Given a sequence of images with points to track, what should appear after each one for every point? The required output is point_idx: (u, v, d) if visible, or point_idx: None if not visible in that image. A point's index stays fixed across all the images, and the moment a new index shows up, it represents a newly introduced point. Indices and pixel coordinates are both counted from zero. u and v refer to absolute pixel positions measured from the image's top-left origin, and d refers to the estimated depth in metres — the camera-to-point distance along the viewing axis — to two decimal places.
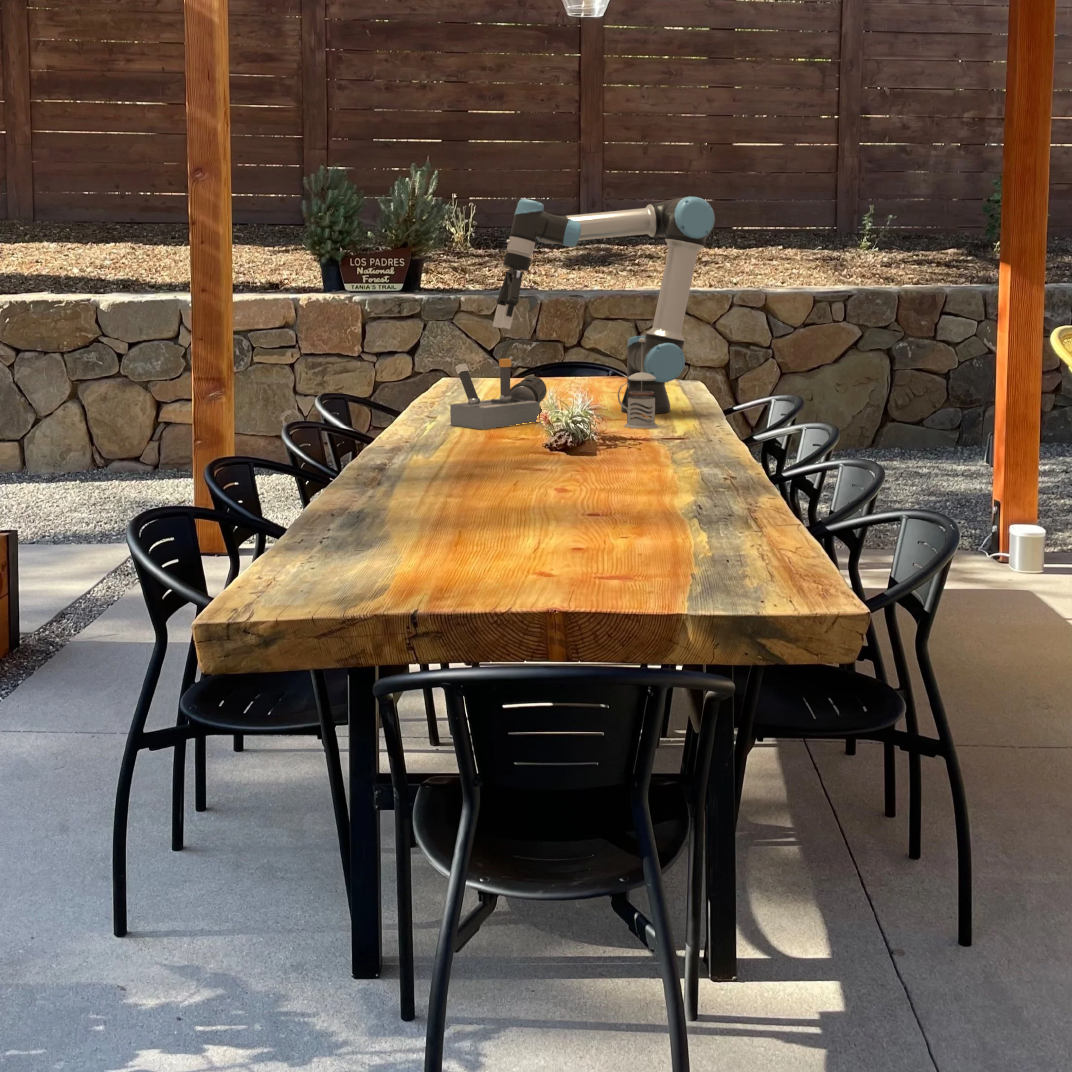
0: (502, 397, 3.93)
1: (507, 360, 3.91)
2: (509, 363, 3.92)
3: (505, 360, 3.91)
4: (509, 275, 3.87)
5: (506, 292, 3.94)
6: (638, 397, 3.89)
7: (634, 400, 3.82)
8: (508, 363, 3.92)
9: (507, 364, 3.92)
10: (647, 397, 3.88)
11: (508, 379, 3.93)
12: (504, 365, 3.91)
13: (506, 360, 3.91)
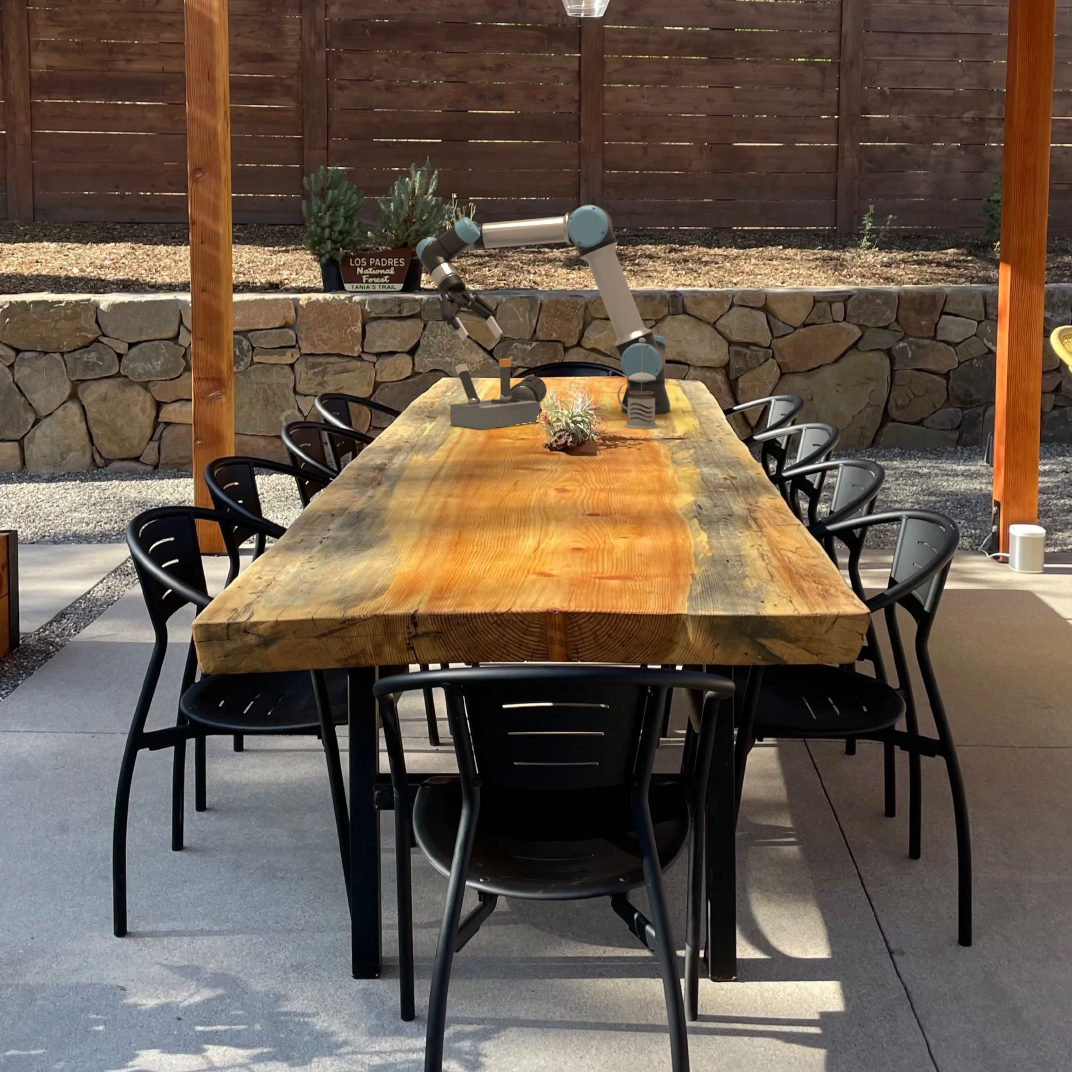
0: (502, 397, 3.93)
1: (507, 360, 3.91)
2: (509, 363, 3.92)
3: (505, 360, 3.91)
4: None
5: (476, 310, 4.04)
6: (638, 397, 3.89)
7: (634, 400, 3.82)
8: (508, 363, 3.92)
9: (507, 364, 3.92)
10: (647, 397, 3.88)
11: (508, 379, 3.93)
12: (504, 365, 3.91)
13: (506, 360, 3.91)
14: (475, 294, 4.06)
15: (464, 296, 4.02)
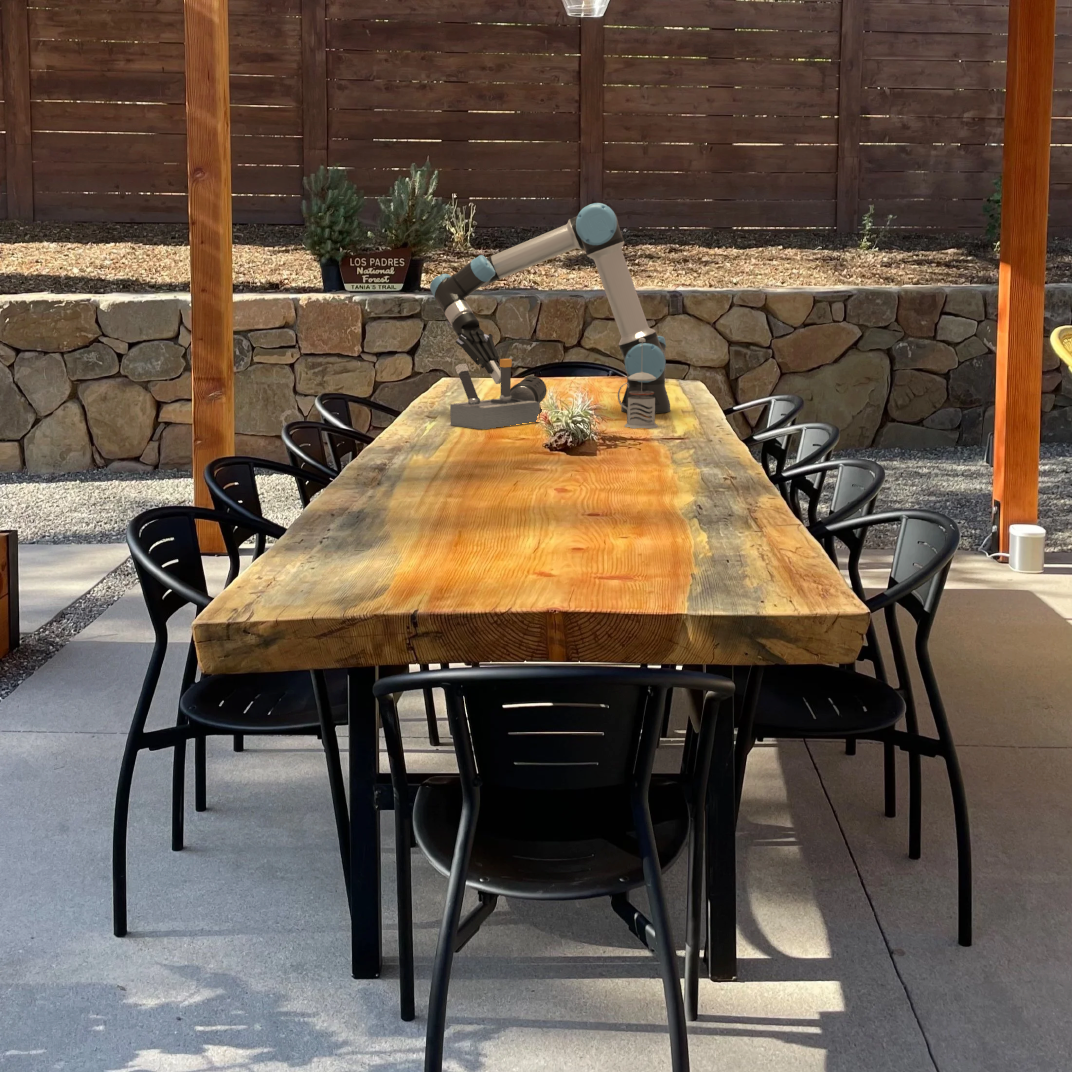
0: (502, 397, 3.93)
1: (508, 360, 3.91)
2: (510, 363, 3.92)
3: (506, 360, 3.91)
4: None
5: (482, 350, 3.99)
6: (638, 397, 3.89)
7: (634, 400, 3.82)
8: (509, 363, 3.92)
9: (508, 364, 3.91)
10: (647, 397, 3.88)
11: (509, 379, 3.93)
12: (505, 365, 3.91)
13: (507, 360, 3.91)
14: (490, 336, 4.02)
15: (477, 333, 4.00)
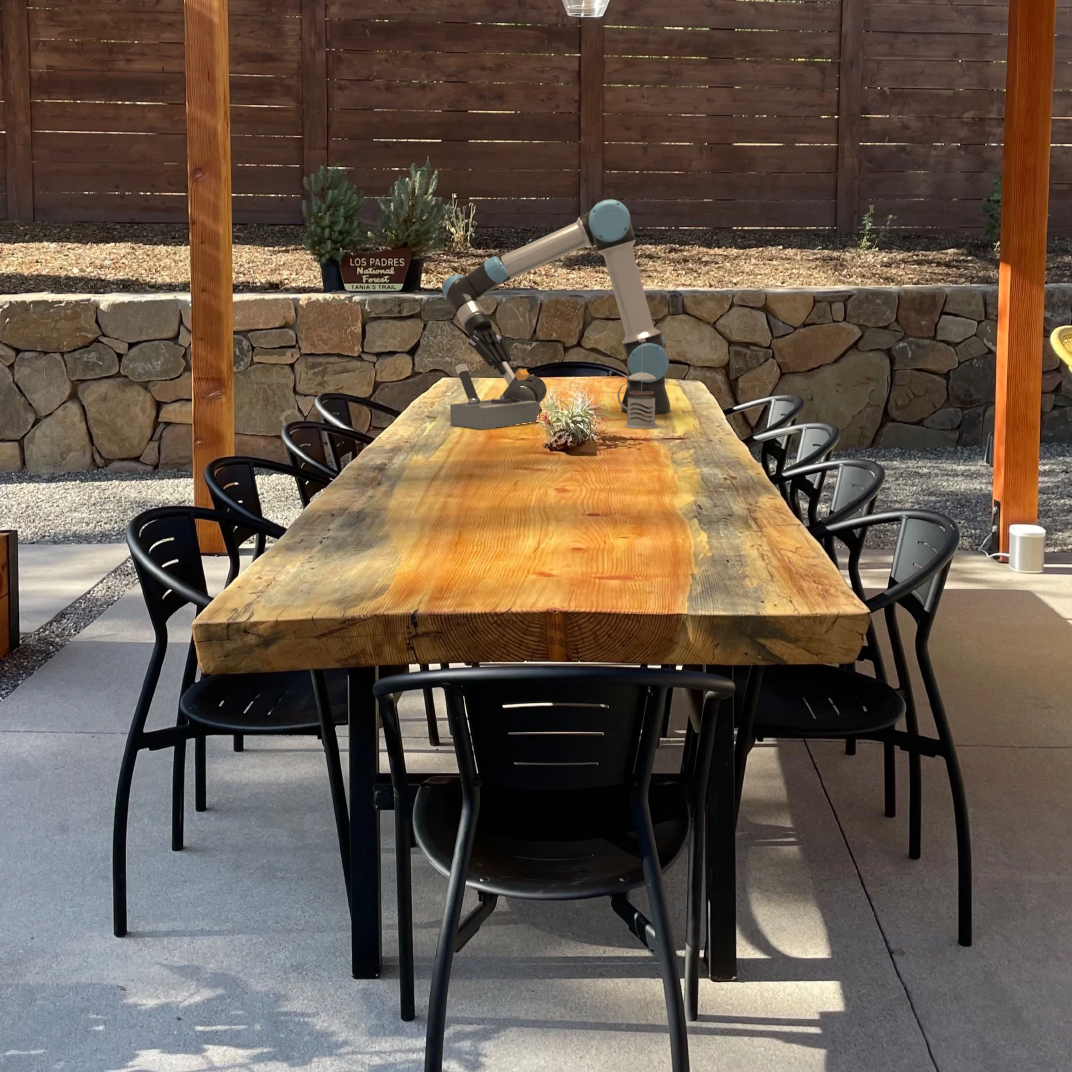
0: (502, 398, 3.93)
1: (525, 375, 3.87)
2: (525, 377, 3.88)
3: (523, 375, 3.86)
4: None
5: (495, 351, 3.95)
6: (638, 397, 3.89)
7: (634, 400, 3.82)
8: (524, 377, 3.88)
9: (523, 378, 3.88)
10: (647, 397, 3.88)
11: (517, 387, 3.91)
12: (519, 379, 3.87)
13: (524, 375, 3.87)
14: (502, 337, 3.99)
15: (489, 334, 3.96)
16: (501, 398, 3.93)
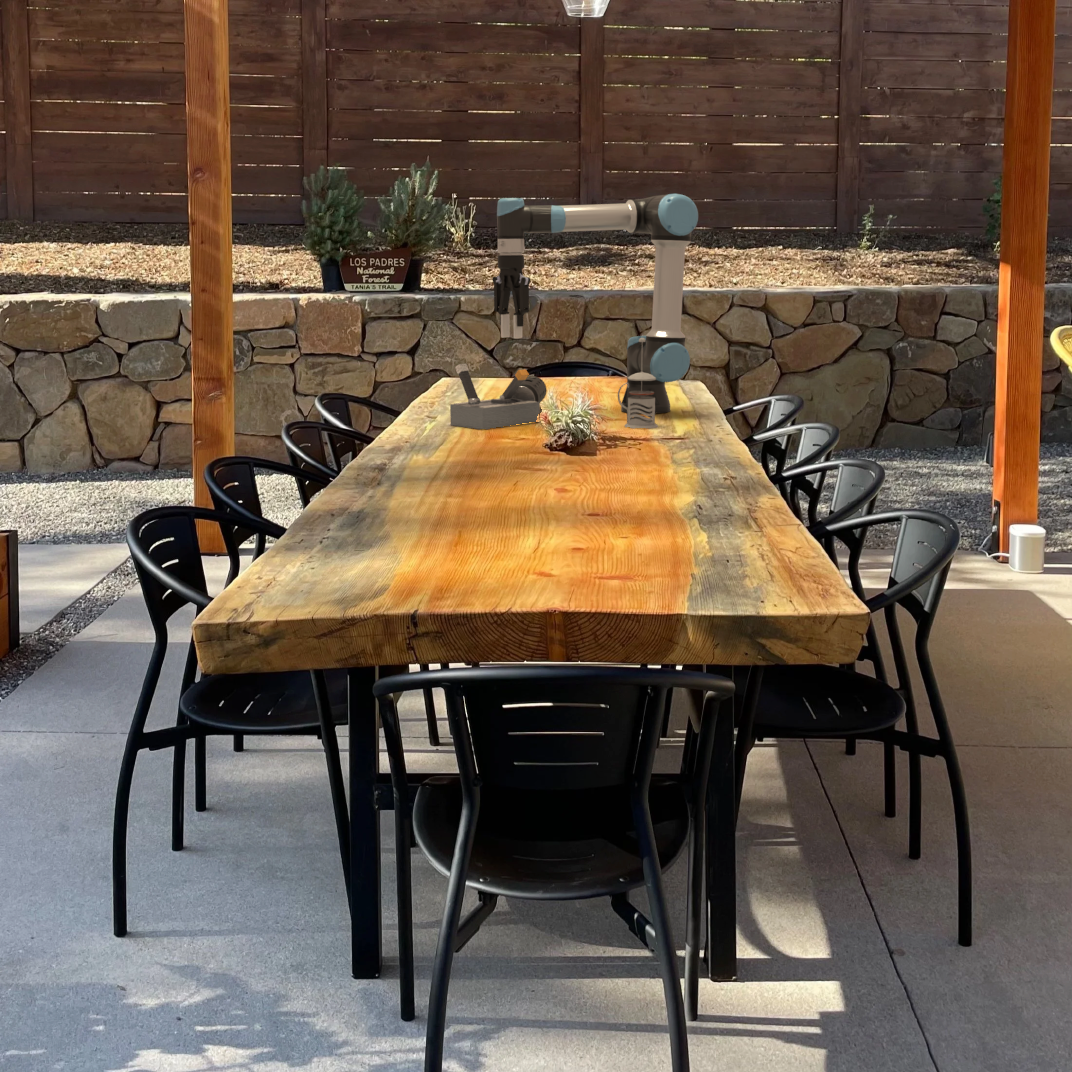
0: (502, 398, 3.93)
1: (525, 375, 3.87)
2: (525, 377, 3.88)
3: (523, 375, 3.86)
4: (511, 279, 3.83)
5: (506, 296, 3.87)
6: (638, 397, 3.89)
7: (634, 400, 3.82)
8: (524, 377, 3.88)
9: (523, 378, 3.88)
10: (647, 397, 3.88)
11: (517, 387, 3.91)
12: (519, 379, 3.87)
13: (524, 375, 3.87)
14: None
15: None
16: (501, 398, 3.93)
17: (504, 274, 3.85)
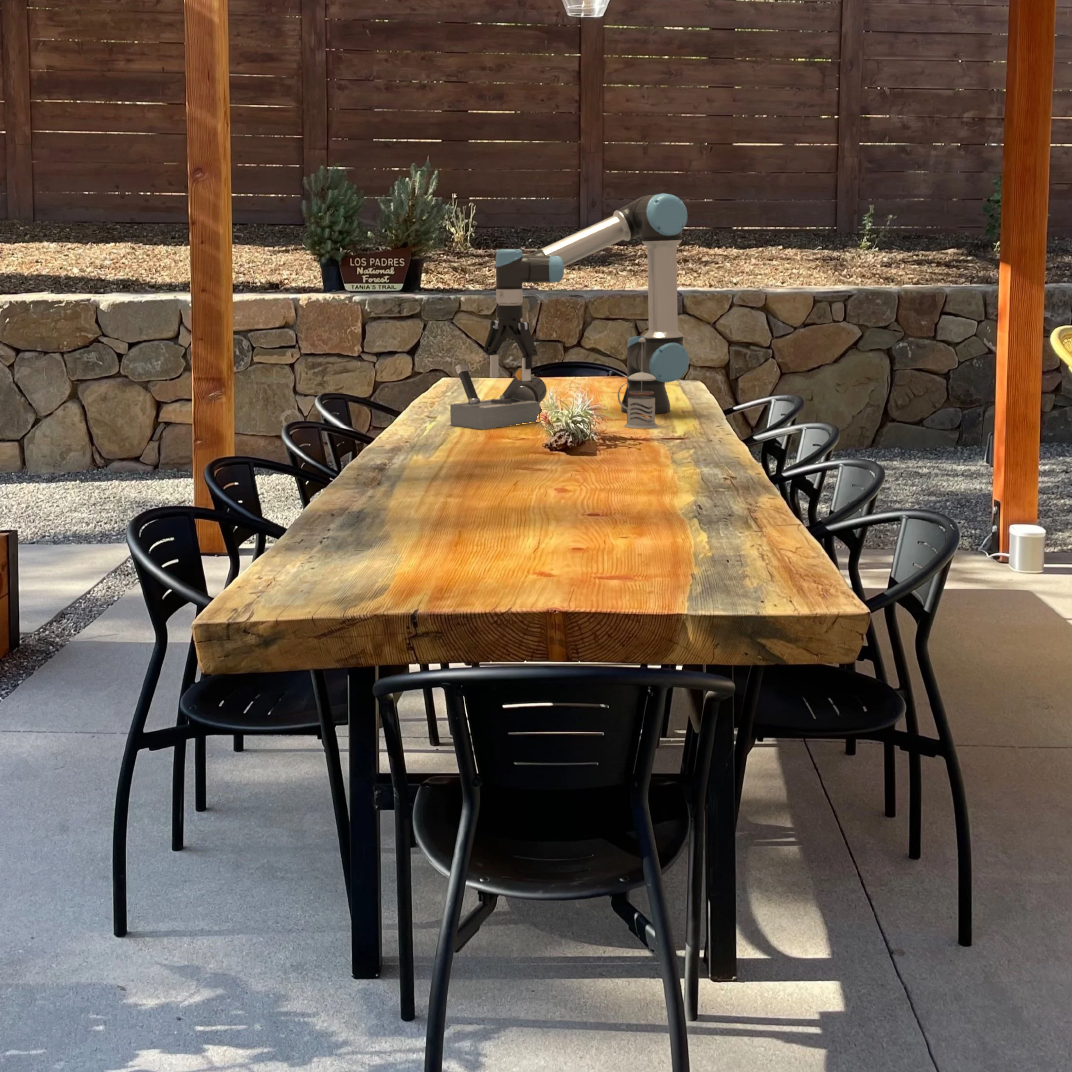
0: (502, 398, 3.93)
1: None
2: None
3: None
4: (510, 327, 3.86)
5: (499, 342, 3.92)
6: (638, 397, 3.89)
7: (634, 400, 3.82)
8: None
9: None
10: (647, 397, 3.88)
11: (517, 387, 3.91)
12: (519, 379, 3.87)
13: None
14: None
15: None
16: (501, 398, 3.93)
17: None
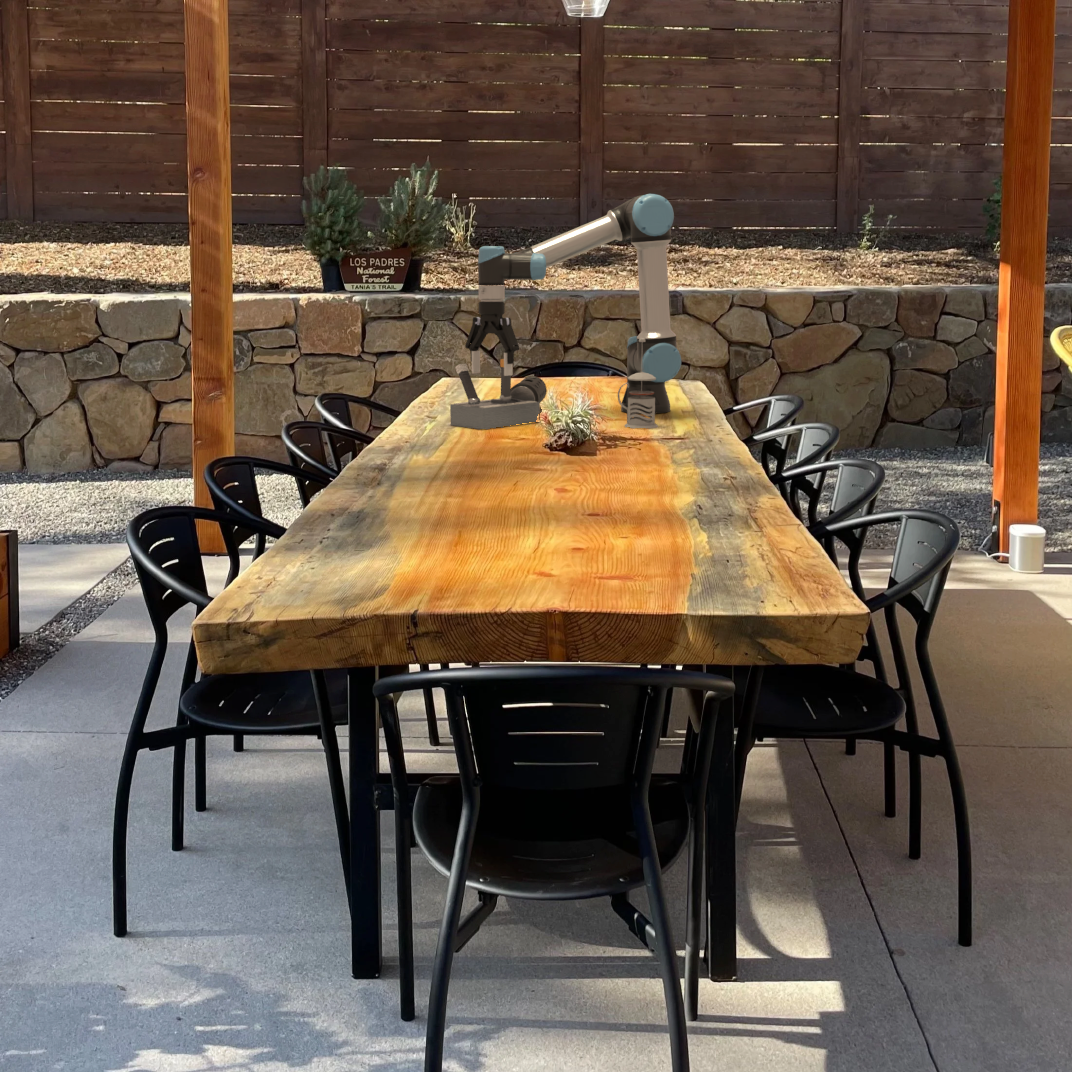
0: (502, 397, 3.93)
1: None
2: None
3: None
4: (492, 323, 3.91)
5: (481, 338, 3.97)
6: (638, 397, 3.89)
7: (634, 400, 3.82)
8: None
9: None
10: (647, 397, 3.88)
11: (509, 379, 3.93)
12: None
13: None
14: None
15: None
16: (501, 398, 3.93)
17: None
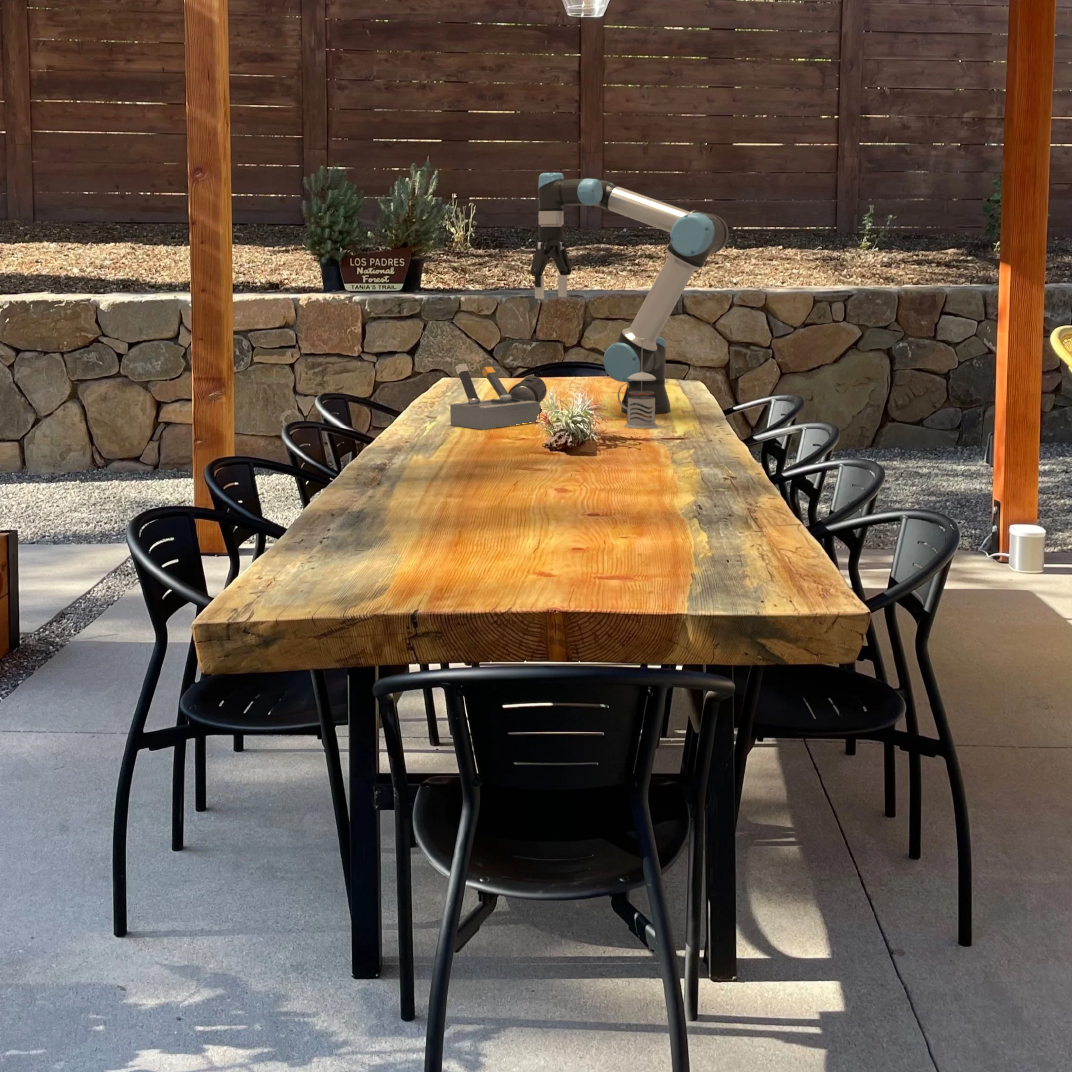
0: (501, 396, 3.93)
1: (488, 367, 3.98)
2: (492, 369, 3.98)
3: (486, 367, 3.97)
4: None
5: (558, 262, 4.15)
6: (638, 397, 3.89)
7: (634, 400, 3.82)
8: (491, 369, 3.98)
9: (490, 370, 3.97)
10: (647, 397, 3.88)
11: (499, 382, 3.96)
12: (488, 371, 3.96)
13: (487, 367, 3.97)
14: (564, 246, 4.15)
15: (556, 249, 4.11)
16: (501, 398, 3.93)
17: None
